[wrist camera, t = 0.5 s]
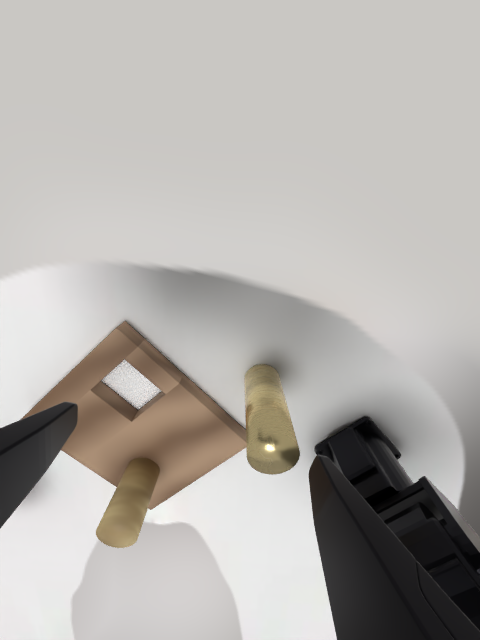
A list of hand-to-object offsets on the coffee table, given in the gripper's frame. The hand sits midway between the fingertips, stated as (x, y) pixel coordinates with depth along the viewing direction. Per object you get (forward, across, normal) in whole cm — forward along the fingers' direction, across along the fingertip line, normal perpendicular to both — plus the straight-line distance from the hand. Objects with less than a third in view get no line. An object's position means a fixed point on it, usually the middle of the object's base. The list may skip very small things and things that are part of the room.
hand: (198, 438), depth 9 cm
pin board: (+12, +6, +12) cm, 18 cm away
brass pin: (+12, -4, +4) cm, 14 cm away
